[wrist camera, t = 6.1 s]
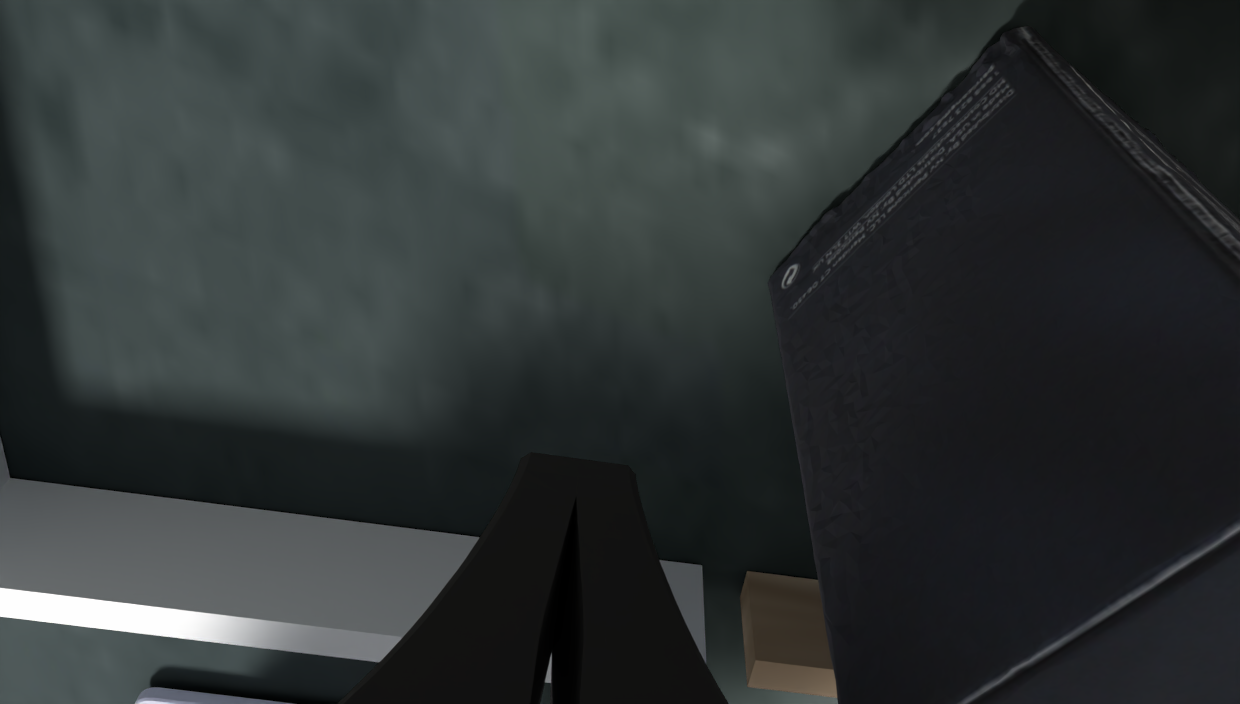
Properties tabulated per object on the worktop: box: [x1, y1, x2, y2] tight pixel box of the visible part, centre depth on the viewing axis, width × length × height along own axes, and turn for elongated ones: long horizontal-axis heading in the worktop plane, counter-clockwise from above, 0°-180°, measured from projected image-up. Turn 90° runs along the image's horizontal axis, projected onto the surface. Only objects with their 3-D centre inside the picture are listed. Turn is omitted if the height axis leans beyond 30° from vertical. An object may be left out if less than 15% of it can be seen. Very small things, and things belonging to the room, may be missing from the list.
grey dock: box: [0, 437, 706, 683], centre depth 17 cm, size 16×16×3 cm
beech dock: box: [740, 571, 837, 698], centre depth 18 cm, size 16×12×2 cm
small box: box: [768, 26, 1240, 704], centre depth 15 cm, size 11×6×10 cm, turn 52°
